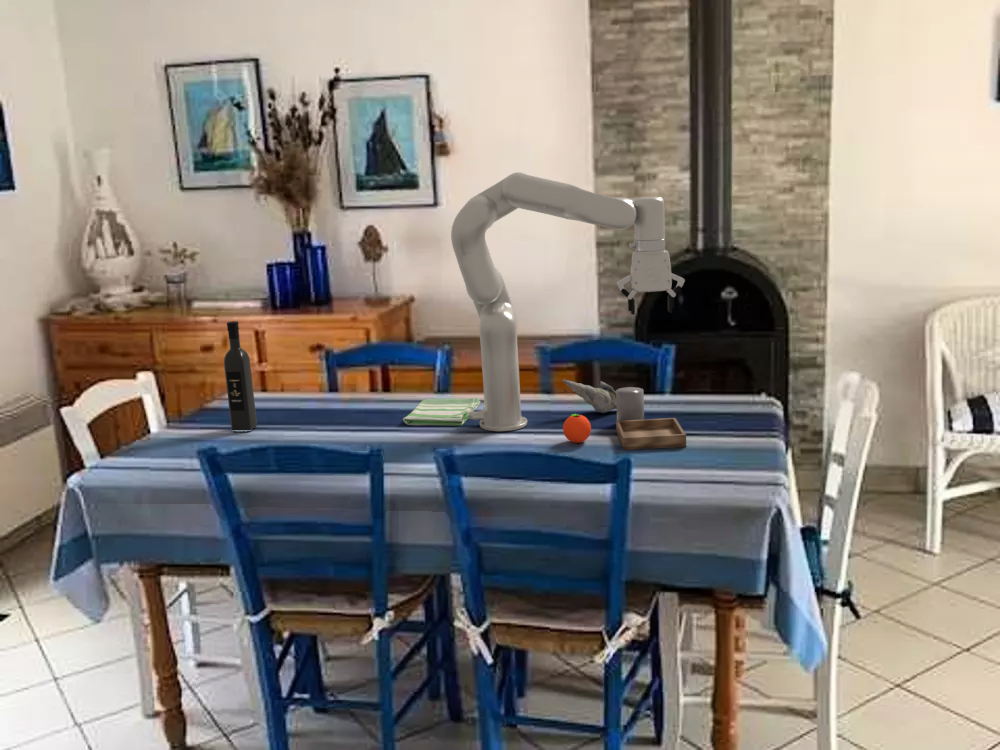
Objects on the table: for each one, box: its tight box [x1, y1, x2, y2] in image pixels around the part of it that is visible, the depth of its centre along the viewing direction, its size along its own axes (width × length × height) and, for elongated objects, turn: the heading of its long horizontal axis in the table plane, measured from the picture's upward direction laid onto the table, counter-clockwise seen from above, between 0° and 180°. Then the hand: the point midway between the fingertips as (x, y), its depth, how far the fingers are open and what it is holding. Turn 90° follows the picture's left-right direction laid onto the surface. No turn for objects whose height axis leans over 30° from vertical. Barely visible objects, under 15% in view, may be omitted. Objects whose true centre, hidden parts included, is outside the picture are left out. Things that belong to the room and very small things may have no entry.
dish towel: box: [402, 397, 481, 426], centre depth 286 cm, size 18×23×3 cm
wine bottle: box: [223, 320, 258, 431], centre depth 278 cm, size 6×6×30 cm
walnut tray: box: [615, 417, 687, 451], centre depth 252 cm, size 15×15×3 cm
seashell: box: [561, 379, 617, 414], centre depth 279 cm, size 10×17×10 cm, turn 80°
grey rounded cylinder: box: [615, 386, 645, 421], centre depth 265 cm, size 7×7×9 cm
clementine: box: [562, 413, 592, 444], centre depth 253 cm, size 8×7×7 cm
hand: (651, 312), depth 264 cm, fingers open, 9 cm apart
